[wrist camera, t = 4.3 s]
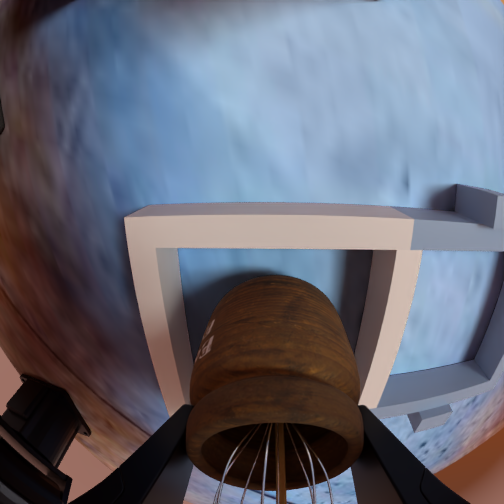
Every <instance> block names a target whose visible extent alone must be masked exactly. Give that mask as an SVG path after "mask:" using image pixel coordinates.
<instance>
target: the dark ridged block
mask: <svg viewBox="0 0 504 504" xmlns="http://www.w3.org/2000/svg"><path fill="white" fill-rule="evenodd" d="M3 129H4V120H3V114H2V108H1V101H0V133H1V132H2V131H3Z"/></svg>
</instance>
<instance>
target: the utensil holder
mask: <svg viewBox="0 0 504 504" xmlns="http://www.w3.org/2000/svg"><path fill="white" fill-rule="evenodd" d="M189 396H190V403H191V405H194V408H193V409H192V411H191V413H190V415H189V417H188V420H187V425H186V452H187V455H188V457H189V459H190V460H191V462H192V463H193V464H194V465H195V466H196V467H197V468H198V469H199V470H200V471H202V472H203V473H205V474H206V475H208V476H210V477H211V478H213V479H216V480H218V481H220V484H219V486H218V489H217V492H216V495H215V499H214V502H213V504H215V503H216V500H217V504H219V502H220V496H221V491H222V487H223V483H226V484H229V485H232V486H236V487H240V488H245V489H244V493H243V496H242V500H241V504H243V500H244V496H245V493H246V489H252V490H262V494H261V504H264V491H276V504H286V490H292V489H299V488H304V487H309V490H310V494H311V499H312V504H316V489H315V485H316V484H319V483H322V482H325V481H327V483H328V487H329V492H330V499H331V504H333V496H332V490H331V486H330V482H329V479H332V478H334V477H336V476H338V475H339V474H341V473H343V472H344V471H346V470H347V469H348V468H349V467H351V466H352V465H353V464H354V463H355V462H356V460H357V459H358V458H359V456H360V454H361V452H362V450H363V444H364V427H363V419H362V415H361V412H360V410H359V408H358V406H357V405H358V404H359V399H360V377H359V372H358V368H357V364H356V360H355V357H354V354H353V351H352V348H351V345H350V343H349V340H348V337H347V334H346V332H345V329H344V327H343V324H342V322H341V319H340V317H339V315H338V313H337V311H336V309H335V307H334V306H333V304H332V303H331V301H330V300H329V299H328V298H327V296H326V295H325V294H324V293H323V292H321V291H320V290H319V289H318V288H316V287H315V286H313V285H312V284H310V283H308V282H306V281H304V280H301V279H298V278H294V277H290V276H283V275H268V276H261V277H257V278H253V279H250V280H248V281H245V282H243V283H241V284H239V285H238V286H236V287H234V288H233V289H232V290H230V291H229V292H228V293H227V294H226V295H225V296H224V297H223V298H222V299H221V300H220V302H219V303H218V305H217V306H216V308H215V309H214V311H213V313H212V315H211V317H210V320H209V322H208V325H207V327H206V330H205V333H204V335H203V338H202V341H201V344H200V347H199V350H198V353H197V356H196V359H195V363H194V366H193V370H192V374H191V379H190V389H189ZM312 485H313V494H312V490H311V486H312ZM217 496H218V498H217Z"/></svg>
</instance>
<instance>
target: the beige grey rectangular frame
mask: <svg viewBox="0 0 504 504" xmlns="http://www.w3.org/2000/svg"><path fill="white" fill-rule="evenodd" d="M124 221H125V229H126V237H127V244H128V251H129V257H130V264H131V269H132V275H133V281H134V286H135V291H136V296H137V301H138V306H139V310H140V315H141V319H142V324H143V328H144V332H145V336H146V340H147V344H148V348H149V352H150V355H151V359H152V363H153V366H154V370H155V373H156V376H157V380H158V383H159V386H160V389H161V393H162V396H163V399H164V402H165V405H166V408H167V411H168V413H169V416H170V417H171V416H172V415H173V414H174V413H175V412H176V411H177V410H178V409H179V408H180V407H181V406H182V405H183V404H190V405H191V403H190V396H189V389H190V379H191V374H192V370H193V366H194V364H193V358H192V352H191V346H190V340H189V334H188V328H187V321H186V314H185V307H184V300H183V292H182V284H181V276H180V267H179V258H178V248H261V249H365V250H373V256H372V263H371V270H370V277H369V283H368V289H367V295H366V301H365V306H364V312H363V317H362V322H361V327H360V331H359V336H358V340H357V345H356V349H355V353H354V357H355V360H356V364H357V368H358V372H359V377H360V399H359V404H358V405H365V406H367V407H368V408H369V410H370V411H371V412H372V413H373V414H374V415H375V416H376V417H377V418H378V419H384V418H390V417H395V416H401V415H406V414H407V415H408V418H409V420H410V423H411V425H412V428H413V431H414V433H415V432H419V431H423V430H427V429H431V428H434V427H438V426H441V425H444V424H445V422H446V421H447V419H448V418H449V416H450V415H451V413H452V412H453V411H452V409H451V407H450V406H449V404H451V403H454V402H457V401H461V400H464V399H467V398H470V397H473V396H476V395H479V394H482V393H485V392H487V391H490V390H493V388H494V387H495V385H496V383H497V382H498V380H499V378H500V376H501V375H502V373H503V371H504V281H503V285H502V288H501V291H500V295H499V298H498V301H497V304H496V307H495V310H494V313H493V315H492V318H491V321H490V323H489V326H488V329H487V331H486V334H485V336H484V338H483V341H482V343H481V345H480V348H479V350H478V352H477V354H476V357H475V359H474V360H470V361H466V362H462V363H457V364H453V365H448V366H443V367H439V368H433V369H428V370H422V371H417V372H411V373H404V374H397V375H390V372H391V369H392V367H393V364H394V361H395V358H396V355H397V352H398V349H399V346H400V343H401V339H402V336H403V333H404V329H405V326H406V322H407V319H408V315H409V311H410V308H411V304H412V300H413V295H414V291H415V287H416V282H417V278H418V273H419V268H420V262H421V257H422V251H423V250H443V251H504V194H502V193H499V192H496V191H492V190H489V189H484V188H478V187H473V186H467V185H461V184H457V192H456V202H455V211H444V210H432V209H420V208H407V207H392V206H375V205H355V204H329V203H284V202H231V203H186V204H160V205H148V206H146V207H144V208H142V209H140V210H138V211H136V212H134V213H132V214H130V215H128V216H126V217H124ZM389 375H390V376H389Z"/></svg>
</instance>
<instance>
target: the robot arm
mask: <svg viewBox="0 0 504 504" xmlns="http://www.w3.org/2000/svg"><path fill="white" fill-rule="evenodd" d="M20 379H21V381H22V382H23V384H22V386H21V387H20V388H19V389H18V390H17V392H16V393H15V394H14V395H13V397H12V398H11V399H10V400H9V401H8V403H7V405H6V407H7V410H6V411H5V412H4V413H3V415H2V416H1V415H0V504H67V501H68V496H69V492H70V487H71V483H72V478H71V477H69V476H68V475H65V474H64V473H63V472H61V471H60V470H59V469H57V468H58V466H59V465H60V463H61V461H62V459H63V457H64V455H65V454H66V452H67V450H68V448H69V446H70V445H71V443H72V441H73V439H74V438H75V436H76V434H77V433H80V434H83V435H85V436H88V437H89V436H90V435H91V431H90V430H89V428H88V427H87V425H86V424H85V422H84V421H83V419H82V417H81V416H80V414H79V412H78V411H77V409H76V408H75V406H74V404H73V402H72V401H71V399H70V397H69V395H68V394H67V393H66V392H65V391H64V390H62V389H60V388H57V387H54V386H51V385H49V384H46V383H44V382H41V381H39V380H36V379H34V378H31V377H29V376H27V375H24V374H22V375H21V376H20ZM357 406H358V408H359V410H360V412H361V415H362V419H363V427H364V444H363V450H362V452H361V454H360V456H359V458H358V459H357V460H356V462H355V463H354V464H353V465H352V466H351V471H352V476H353V481H354V486H355V492H356V497H357V503H358V504H470V503H469V502H468V501H466V500H465V499H463V498H462V497H460V496H459V495H458V494H456V493H455V492H454V491H452V490H451V489H450V488H448V487H447V486H446V485H445V484H443V483H442V482H441V481H440V480H439V479H438V478H437V477H435V476H434V475H433V474H432V473H431V472H430V471H429V470H428V469H427V468H425V466H424V465H423V464H422V463H421V462H420V461H419V460H418V459H417V458H416V457H415V456H414V455H413V454H412V453H411V452H410V451H409V450H408V449H407V448H406V447H405V446H404V445H403V444H402V443H401V442H400V441H399V440H398V439H397V438H396V437H395V435H394V434H393V433H392V432H391V431H390V430H389V429H388V428H387V427H386V426H385V425H384V424H383V423H382V422H381V421H380V420H379V419H378V418H377V417H376V416H375V415H374V414H373V413H372V412H371V411H370V410H369V408H368V407H367V406H365V405H357ZM193 408H194V405H190V404H183V405H182V406H181V407H180V408H179V409H178V410H177V411H176V412H175V413H174V414H173V415H172V416H171V417H170V418H169V419H168V420H167V421H166V422H165V423H164V424H163V425H162V426H161V427H160V428H159V429H158V430H157V431H156V432H155V433H154V434H153V435H152V436H151V437H150V438H149V439H148V440H147V441H146V442H145V443H144V444H143V445H142V446H141V447H139V448H138V449H137V450H136V451H135V452H134V453H133V454H132V455H131V456H130V457H129V458H128V459H127V460H126V461H125V462H123V463H122V464H121V465H120V466H119V468H117V469H116V470H115V471H113V473H111V474H110V475H109V476H108V477H107V478H106V479H104V480H103V481H102V482H100V483H99V484H98V485H96V486H95V487H94V488H92V489H90V490H89V491H88V492H86V493H84V494H83V495H81V496H79V497H78V498H76V499H75V500H73V501H71V502H70V503H68V504H183V500H184V497H185V493H186V490H187V486H188V483H189V479H190V476H191V472H192V469H193V465H194V464H193V463H192V462H191V460H190V459H189V457H188V455H187V452H186V425H187V420H188V417H189V415H190V413H191V411H192V409H193ZM15 449H16V450H17V451H18V452H17V451H16V450H15ZM25 458H26V459H25ZM32 464H33V465H32ZM37 468H38V469H37ZM42 472H43V473H42Z"/></svg>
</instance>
